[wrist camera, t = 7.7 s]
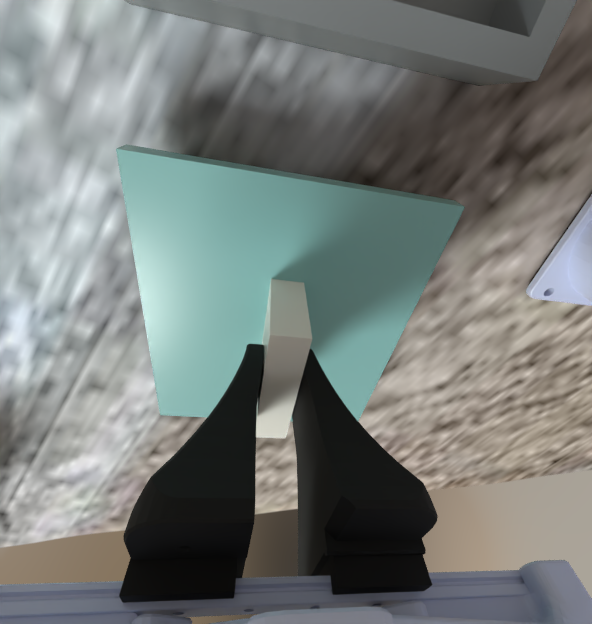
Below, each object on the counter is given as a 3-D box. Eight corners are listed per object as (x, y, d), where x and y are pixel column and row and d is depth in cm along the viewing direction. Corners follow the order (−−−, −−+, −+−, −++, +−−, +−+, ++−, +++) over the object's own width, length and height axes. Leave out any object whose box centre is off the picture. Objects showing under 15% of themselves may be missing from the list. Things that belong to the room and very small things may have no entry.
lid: (454, 200, 12) (528, 248, 8) (353, 413, 20) (370, 481, 16) (126, 144, 10) (48, 175, 7) (164, 403, 18) (138, 477, 15)
